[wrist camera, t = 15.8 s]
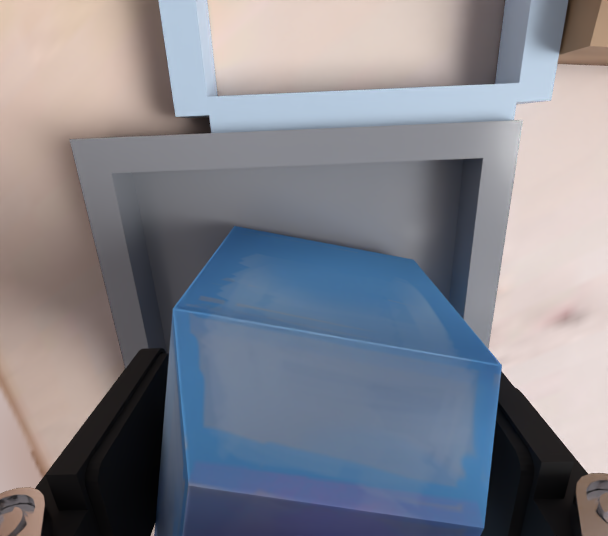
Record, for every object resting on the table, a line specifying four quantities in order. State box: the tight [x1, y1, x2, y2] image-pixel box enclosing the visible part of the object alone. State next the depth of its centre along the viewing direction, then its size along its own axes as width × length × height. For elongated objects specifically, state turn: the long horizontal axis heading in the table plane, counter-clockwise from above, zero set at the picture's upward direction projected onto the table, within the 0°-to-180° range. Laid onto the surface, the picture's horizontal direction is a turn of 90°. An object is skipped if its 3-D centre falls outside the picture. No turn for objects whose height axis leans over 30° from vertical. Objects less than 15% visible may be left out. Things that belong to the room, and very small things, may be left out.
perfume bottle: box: [154, 226, 502, 536], centre depth 8 cm, size 6×6×12 cm
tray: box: [70, 120, 523, 369], centre depth 14 cm, size 13×13×2 cm
